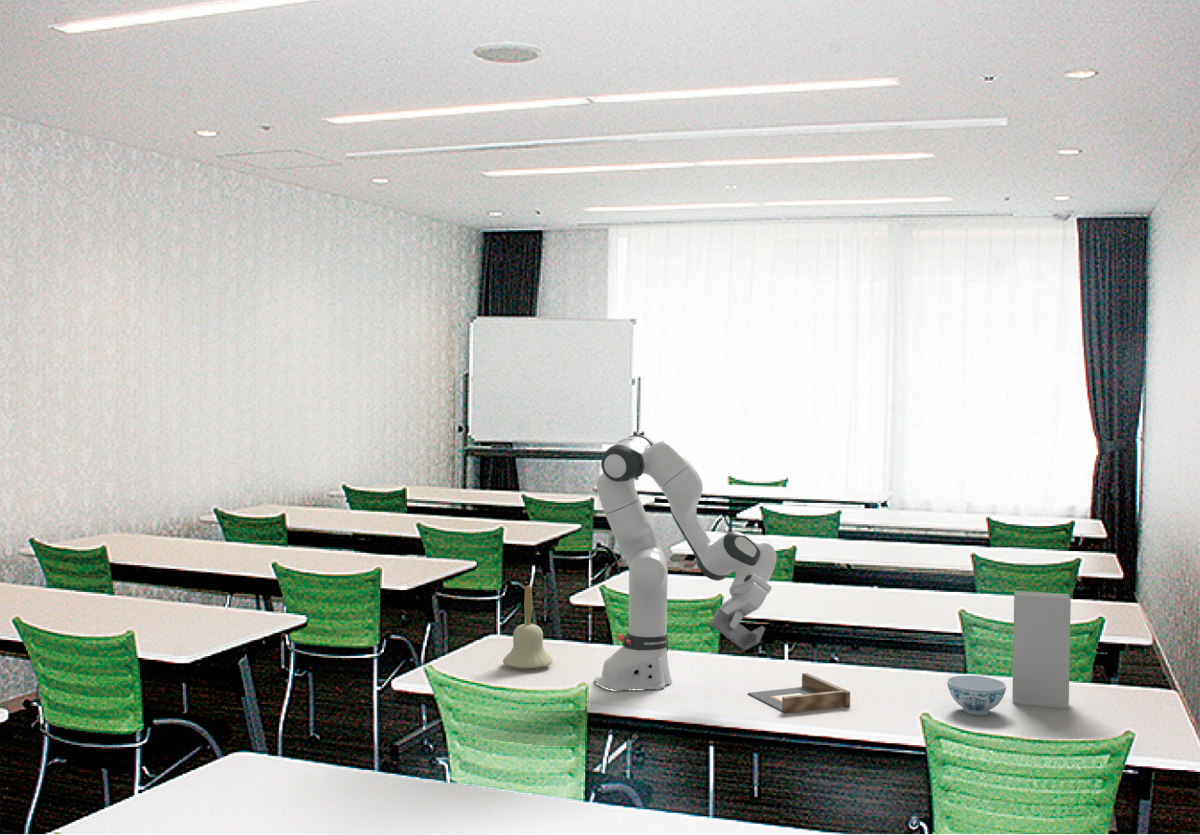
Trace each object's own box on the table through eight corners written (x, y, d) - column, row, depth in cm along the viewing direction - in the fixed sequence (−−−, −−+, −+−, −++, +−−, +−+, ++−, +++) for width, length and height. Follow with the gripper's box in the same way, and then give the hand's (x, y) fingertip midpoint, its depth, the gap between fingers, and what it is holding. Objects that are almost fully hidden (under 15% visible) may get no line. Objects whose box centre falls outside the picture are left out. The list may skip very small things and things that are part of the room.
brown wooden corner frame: (786, 714, 293) (786, 699, 293) (746, 693, 313) (746, 679, 313) (850, 706, 301) (850, 691, 301) (806, 686, 321) (806, 673, 321)
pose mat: (781, 711, 296) (781, 709, 296) (747, 694, 312) (747, 692, 312) (839, 704, 302) (839, 703, 302) (803, 688, 319) (803, 686, 319)
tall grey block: (1067, 703, 306) (1069, 594, 305) (1069, 708, 301) (1071, 597, 300) (1012, 698, 310) (1014, 590, 310) (1012, 703, 305) (1014, 594, 305)
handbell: (492, 666, 342) (493, 584, 342) (531, 658, 352) (531, 579, 352) (524, 675, 331) (524, 591, 330) (563, 667, 341) (563, 586, 341)
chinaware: (963, 700, 308) (963, 672, 308) (1015, 711, 297) (1016, 683, 297) (936, 710, 297) (936, 682, 297) (989, 723, 287) (990, 693, 287)
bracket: (744, 650, 299) (709, 624, 298) (751, 636, 302) (716, 610, 301) (758, 643, 294) (723, 616, 293) (765, 628, 297) (730, 602, 296)
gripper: (718, 596, 315) (699, 634, 307) (757, 571, 300) (739, 610, 291) (735, 610, 316) (717, 648, 307) (775, 585, 300) (757, 624, 291)
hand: (728, 629), depth 299 cm, fingers closed on bracket
